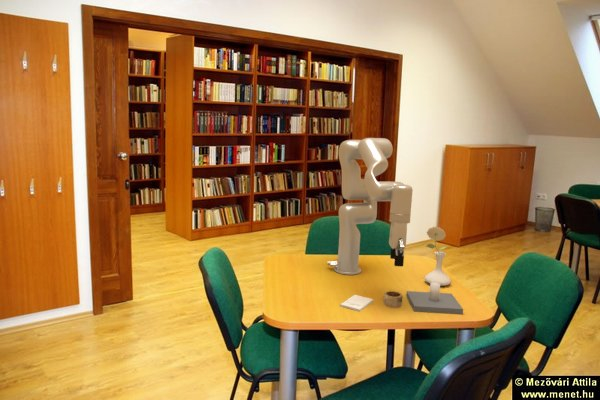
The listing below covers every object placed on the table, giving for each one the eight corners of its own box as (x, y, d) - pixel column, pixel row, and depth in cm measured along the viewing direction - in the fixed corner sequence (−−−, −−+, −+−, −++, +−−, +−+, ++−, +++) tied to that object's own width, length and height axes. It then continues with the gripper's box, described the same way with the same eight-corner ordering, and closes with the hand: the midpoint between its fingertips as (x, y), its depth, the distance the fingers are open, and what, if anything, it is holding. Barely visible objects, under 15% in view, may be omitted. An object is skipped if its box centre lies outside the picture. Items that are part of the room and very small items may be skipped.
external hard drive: (372, 303, 189) (359, 313, 179) (353, 298, 194) (339, 307, 183) (373, 299, 189) (359, 309, 179) (354, 294, 193) (339, 303, 183)
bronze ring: (384, 306, 184) (385, 296, 184) (382, 300, 191) (383, 290, 190) (402, 308, 184) (403, 297, 183) (399, 301, 191) (400, 291, 190)
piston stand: (413, 311, 182) (415, 289, 180) (406, 295, 197) (408, 275, 196) (462, 314, 181) (465, 292, 180) (451, 298, 197) (453, 278, 195)
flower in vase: (455, 284, 214) (461, 228, 210) (443, 290, 206) (449, 232, 202) (428, 276, 223) (433, 223, 219) (415, 281, 215) (420, 226, 210)
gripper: (386, 213, 190) (383, 255, 193) (393, 222, 173) (389, 268, 176) (405, 214, 190) (402, 256, 193) (414, 223, 173) (410, 269, 176)
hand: (396, 262), depth 184 cm, fingers open, 9 cm apart
